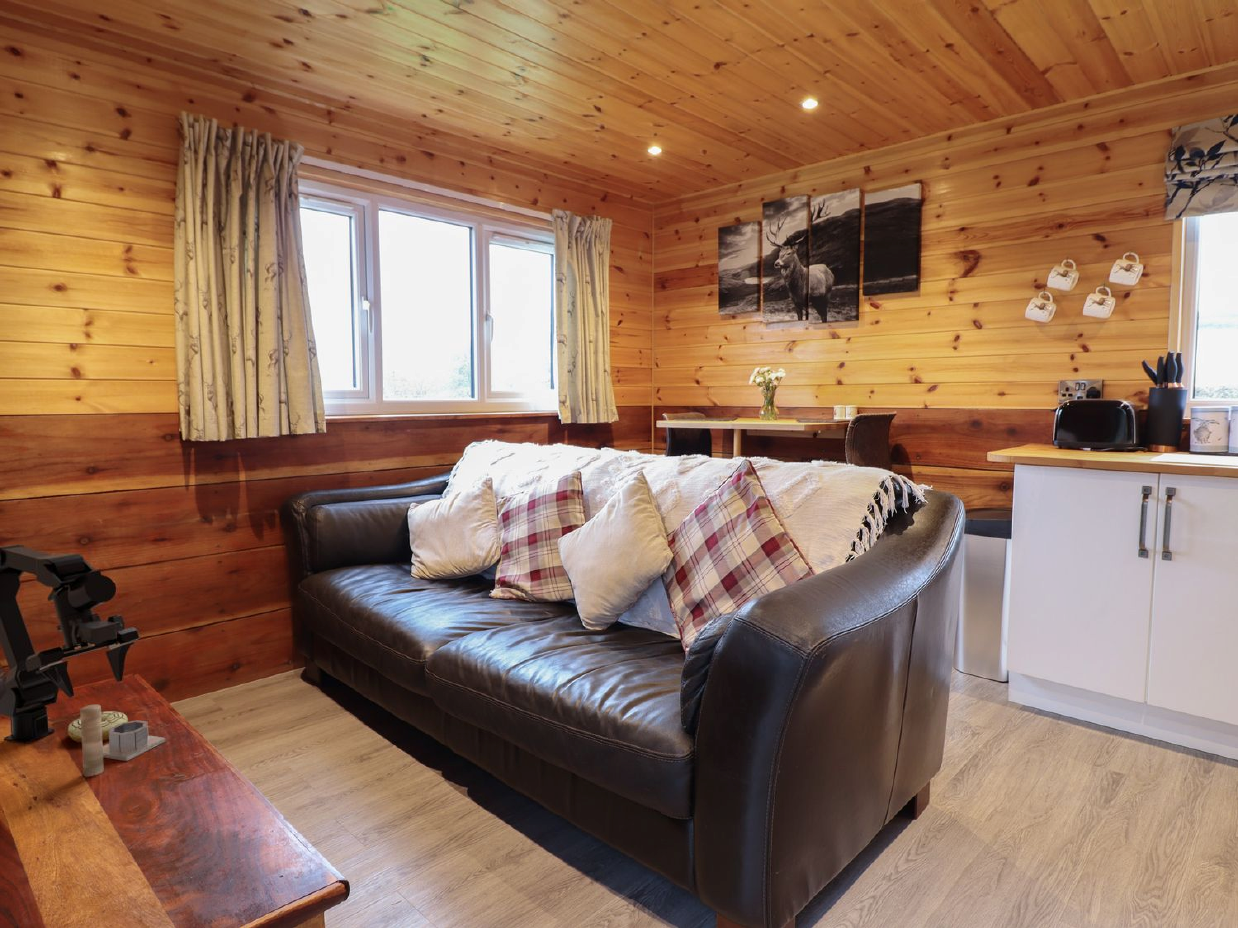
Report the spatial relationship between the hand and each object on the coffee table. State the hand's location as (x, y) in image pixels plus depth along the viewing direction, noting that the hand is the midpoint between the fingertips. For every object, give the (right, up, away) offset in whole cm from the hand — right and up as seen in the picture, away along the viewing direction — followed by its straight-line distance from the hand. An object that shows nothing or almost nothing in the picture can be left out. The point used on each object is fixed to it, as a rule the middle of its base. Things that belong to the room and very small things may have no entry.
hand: (96, 689), depth 147 cm
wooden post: (+3, -15, -5) cm, 16 cm away
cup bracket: (+3, -14, +5) cm, 15 cm away
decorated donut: (-8, -14, +12) cm, 20 cm away
